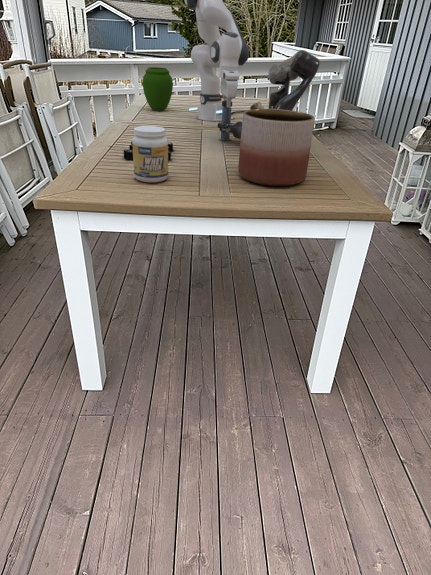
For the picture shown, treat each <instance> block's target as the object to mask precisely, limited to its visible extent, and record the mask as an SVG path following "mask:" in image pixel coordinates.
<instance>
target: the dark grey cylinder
mask: <svg viewBox="0 0 431 575" xmlns="http://www.w3.org/2000/svg"><path fill="white" fill-rule="evenodd" d="M231 113H232V107H230V108H227V107H222V121H220V123H221V124H231V123H232V122H231V121H232V119H231V116H232V115H231ZM230 137H231V133H230V132H225V133H223V132H222V131H220V141H222V142H229V141H230V140H231V139H230Z"/></svg>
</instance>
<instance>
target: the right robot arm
mask: <svg viewBox="0 0 431 575" xmlns="http://www.w3.org/2000/svg"><path fill="white" fill-rule="evenodd" d="M320 66H321V60H320V59H319V58H318V57H316V56H315V55H313V54H312V53H310V52H308V51H307V50H304V49H299V50H298V51H296V53H294V54H293V55H292V56H291V57H289V58H287V59H284V60H282V61H281V62H279V63H274V64H272V65H271V66H270V68H269V69H268V70H269V71H268V81H269V83H270V84H271V85H279V86H280V88H278V89H277V90H274V91H271V92H270V93H269V99H268V108H267V109H282V110H291V111H294V108H295V107H296V105H297V104H298V102H299V101H300V99H301V98H302V97H303V95H304V93H305V92H306V91H307V89H308V87H309V86H310V84H311V83H312V81H313V80H314V78H315V76H316V75H317V73H318V71H319V69H320ZM298 78H300V79H301V80H302V81H301V82H300V84H298V86H297V88H295V89H294V90H292V91H291V92H290V93H289V90H290V85H291V82H293V81H295V80H297V79H298ZM217 128H218V129H219V131H220V132H221V131H222V132H223V133H225V132H230V134H232V136H233V137H234V138H235V139H238V140H241V132H242V121H237V122H231V124H221V122H217Z"/></svg>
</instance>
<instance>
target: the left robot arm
mask: <svg viewBox="0 0 431 575" xmlns="http://www.w3.org/2000/svg"><path fill="white" fill-rule="evenodd" d="M183 1H184V3H185V6H186V8H188V9H189V10H195V17H196V24H197V25H196V26H197V32H198V36H199V37H200V39H202V40H203V41H204V42H205V43H206V44H198V45H194V46H193V48H191V52H190V59H191V62H192V63H193V65H195V67H196V68H197V71H198V72H199V76H200V94H199V102H200V104H199V111H198V116H197V119H198V120H201V121H209V122H222V107H223V106H222V101H227V103H226V107H227V108H230V107H231V101H232V102H233V100H234V99H236V97H237V94H238V86H239V84H238V83H239V82H238V81H239V80H240V73H239V72H240V71H239V70H240V69H239V67H241V66H243V65H244V64H246V63H247V61H248V60H249V58H250V47H249V46H248V43H247V42H246V40H245V39H244V36H243V34H242V32H241V29H240V26H239V25H238V22H237V20H236V18H235V15H234V14H233V13H232V12H231V11H230V10H229V9H228V8H227V6H226V5H225V2H226V1H227V0H183ZM220 28H221V29H223V30H224V31H225V32H223V33H220ZM214 68H215V69H218V71H219V72H218V75H217V74H215V72H214ZM222 99H223V100H222ZM231 108H232V107H231ZM188 109H189V111H193V110H198V107H193V108H192V107H191V108H188ZM245 111H246V110H235V111H231V120H234V117H233V116H232V115H233V114H239V113H240V114H241V113H243V112H245Z"/></svg>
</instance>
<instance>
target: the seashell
mask: <svg viewBox="0 0 431 575" xmlns="http://www.w3.org/2000/svg"><path fill="white" fill-rule="evenodd" d="M252 109H265V107H264V106H263V105H262V103H261V101H258V102H255V103H253V104H252V105H251V106H250V107H249V110H252Z"/></svg>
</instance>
